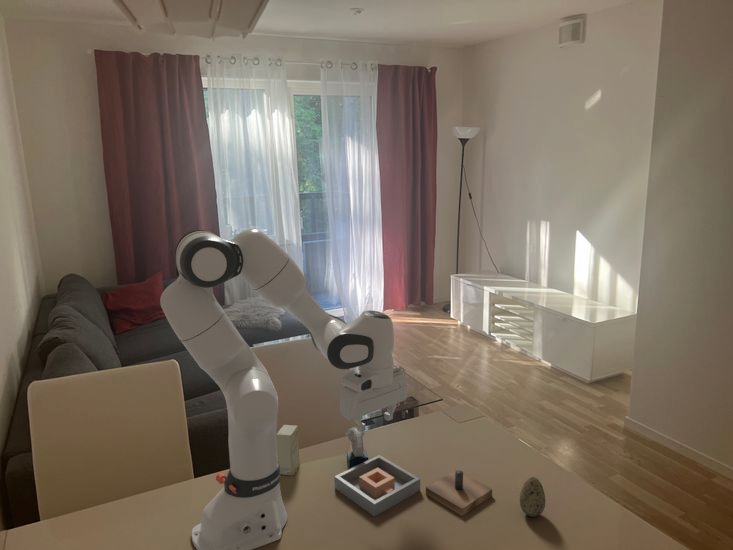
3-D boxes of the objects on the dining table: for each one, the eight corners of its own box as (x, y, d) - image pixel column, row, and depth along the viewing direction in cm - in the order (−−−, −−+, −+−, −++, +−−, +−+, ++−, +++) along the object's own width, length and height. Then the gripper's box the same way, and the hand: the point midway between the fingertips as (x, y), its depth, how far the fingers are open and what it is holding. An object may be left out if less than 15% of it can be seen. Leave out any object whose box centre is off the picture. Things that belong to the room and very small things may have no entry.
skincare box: (293, 476, 150) (291, 435, 147) (277, 474, 150) (275, 434, 148) (300, 464, 156) (298, 425, 153) (285, 462, 156) (283, 423, 154)
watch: (364, 455, 159) (363, 421, 157) (369, 470, 152) (369, 434, 149) (345, 458, 158) (344, 423, 156) (350, 473, 151) (349, 436, 148)
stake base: (461, 516, 132) (462, 492, 130) (425, 494, 140) (425, 471, 139) (492, 496, 139) (492, 473, 138) (455, 476, 148) (456, 454, 147)
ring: (381, 501, 137) (380, 491, 136) (359, 486, 143) (359, 476, 142) (399, 491, 141) (399, 481, 140) (377, 477, 147) (377, 467, 147)
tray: (374, 516, 132) (374, 504, 131) (334, 488, 144) (334, 476, 143) (420, 490, 142) (420, 478, 141) (379, 466, 154) (379, 454, 153)
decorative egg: (513, 511, 133) (515, 474, 131) (533, 504, 135) (535, 468, 133) (530, 525, 128) (532, 487, 126) (549, 518, 130) (552, 481, 128)
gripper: (396, 361, 145) (395, 409, 148) (336, 380, 132) (336, 432, 135) (413, 368, 140) (412, 417, 143) (352, 387, 127) (352, 441, 130)
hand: (375, 424), depth 139 cm, fingers open, 8 cm apart
